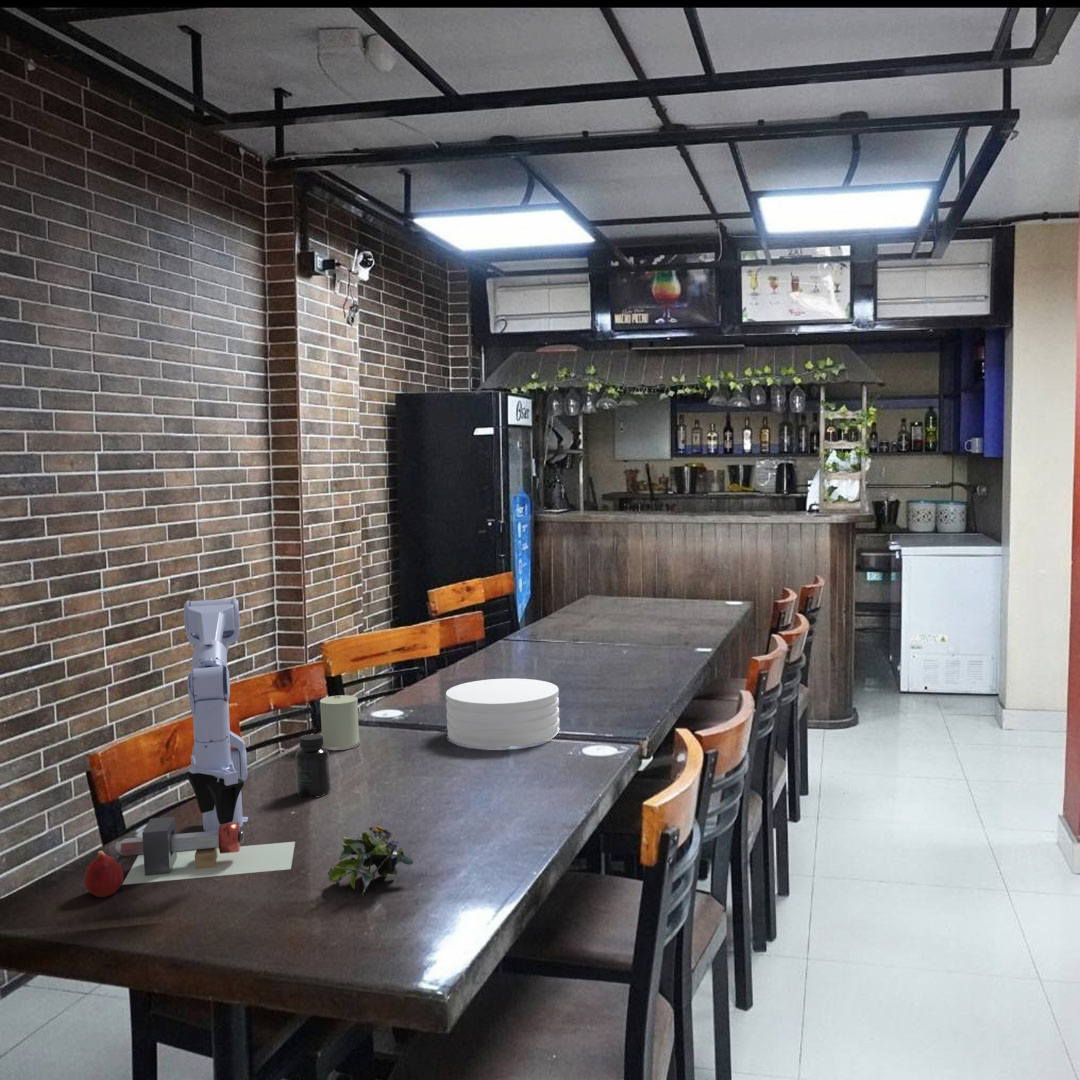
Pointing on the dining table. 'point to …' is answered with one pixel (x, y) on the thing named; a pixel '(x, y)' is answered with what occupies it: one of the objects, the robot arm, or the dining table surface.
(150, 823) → the block
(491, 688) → the plate stack
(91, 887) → the red kuri squash
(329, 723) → the can
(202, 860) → the brown rectangular block
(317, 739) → the supplement bottle
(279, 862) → the board
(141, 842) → the rod
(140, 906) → the dining table surface
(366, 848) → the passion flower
